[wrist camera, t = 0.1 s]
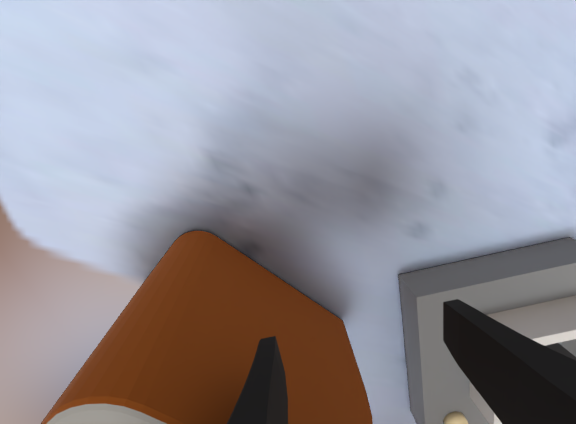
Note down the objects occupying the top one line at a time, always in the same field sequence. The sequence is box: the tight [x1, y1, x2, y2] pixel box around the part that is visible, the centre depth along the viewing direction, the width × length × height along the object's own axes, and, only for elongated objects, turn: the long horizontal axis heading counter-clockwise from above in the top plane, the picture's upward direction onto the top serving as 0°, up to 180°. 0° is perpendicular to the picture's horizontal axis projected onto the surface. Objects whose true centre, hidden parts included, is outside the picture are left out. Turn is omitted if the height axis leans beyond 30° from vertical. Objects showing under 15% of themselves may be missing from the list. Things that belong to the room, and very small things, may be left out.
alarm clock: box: [41, 231, 372, 424], centre depth 17 cm, size 15×8×14 cm, turn 51°
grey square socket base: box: [398, 237, 576, 424], centre depth 23 cm, size 16×14×6 cm
